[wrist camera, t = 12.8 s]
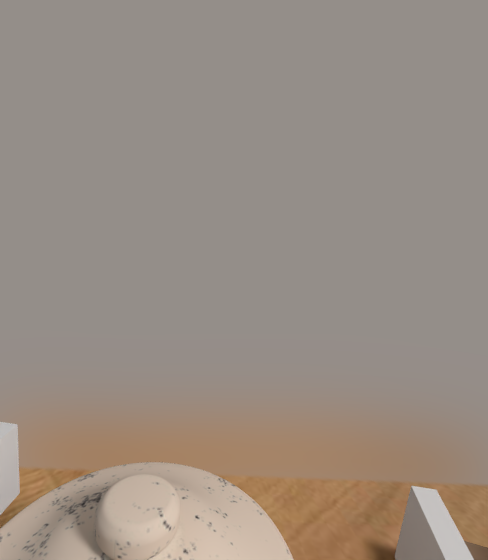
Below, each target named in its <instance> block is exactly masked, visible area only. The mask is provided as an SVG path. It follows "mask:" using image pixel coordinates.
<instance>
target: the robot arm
mask: <svg viewBox="0 0 488 560" xmlns="http://www.w3.org/2000/svg"><path fill="white" fill-rule="evenodd" d="M17 427H18V426H17V424H11V423H4V422H0V515H1V514H2V513H3V511H4V510H5V509H6V508H7V507H8V506H9V505H10V503H11V502H12V501H13V500H14V499H15V498H16V497H17V496H18V494H19V493H20V489H19V458H18V428H17ZM395 559H396V560H474V559H473V557H472V555H471V553H470V551H469V549H468V548H467V546H466V544H465V542H464V540H463V538H462V537H461V535H460V533H459V531H458V529H457V527H456V525H455V524H454V522H453V520H452V518H451V516H450V514H449V513H448V511H447V509H446V507H445V505H444V503H443V501H442V500H441V498H440V496H439V494H438V492H437V490H434V489H428V488H422V487H415V486H411V490H410V494H409V498H408V502H407V506H406V511H405V515H404V519H403V523H402V527H401V532H400V536H399V540H398V544H397V548H396V553H395Z"/></svg>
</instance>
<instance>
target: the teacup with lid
mask: <svg viewBox="0 0 488 560" xmlns="http://www.w3.org/2000/svg"><path fill="white" fill-rule="evenodd" d="M0 560H293V557H292V555H291V553H290V550H289V548H288V546H287V544H286V543H285V541H284V539H283V537H282V535H281V533H280V532H279V530H278V529H277V527H276V526H275V524H274V523H273V521H272V520H271V519H270V518H269V516H268V515H267V514H266V513H265V511H264V510H263V509H262V508H261V507H260V506H259V505H258V504H257V503H256V502H255V501H254V500H253V499H252V498H251V497H249V496H248V495H247V494H246V493H244V492H243V491H242V490H240V489H239V488H238V487H236V486H235V485H233V484H231V483H230V482H228V481H226V480H224V479H223V478H221V477H219V476H217V475H214V474H212V473H209V472H207V471H204V470H201V469H197V468H194V467H190V466H186V465H180V464H173V463H162V462H160V463H159V462H146V463H134V464H125V465H120V466H114V467H110V468H106V469H102V470H99V471H96V472H93V473H90V474H87V475H84V476H82V477H79V478H77V479H74V480H72V481H70V482H68V483H65V484H63V485H62V486H60V487H58V488H56V489H54V490H52V491H50V492H49V493H47V494H45V495H44V496H42V497H41V498H39V499H37V500H36V501H35V502H33V503H32V504H30V505H29V506H27V507H26V508H25V509H23V510H22V511H21V512H19V513H18V514H17V515H16V516H14V517H13V518H12V519H11V520H10V521H8V522H7V523H6V524H5V525H4V526H3V527H2V528H1V529H0Z"/></svg>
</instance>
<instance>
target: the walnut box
mask: <svg viewBox="0 0 488 560" xmlns="http://www.w3.org/2000/svg"><path fill="white" fill-rule="evenodd" d="M464 542H465V544H466V546H467V548H468V549H469V551H470V553H471V555H472V557H473V559H474V560H488V548H486V547H483V546H480V545H476V544H473V543H469V542H466V541H464Z"/></svg>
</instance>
